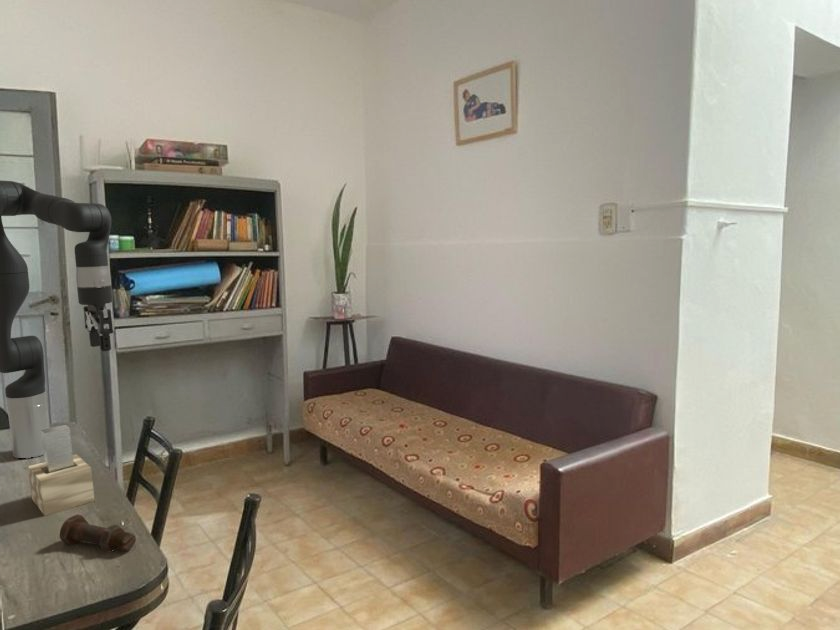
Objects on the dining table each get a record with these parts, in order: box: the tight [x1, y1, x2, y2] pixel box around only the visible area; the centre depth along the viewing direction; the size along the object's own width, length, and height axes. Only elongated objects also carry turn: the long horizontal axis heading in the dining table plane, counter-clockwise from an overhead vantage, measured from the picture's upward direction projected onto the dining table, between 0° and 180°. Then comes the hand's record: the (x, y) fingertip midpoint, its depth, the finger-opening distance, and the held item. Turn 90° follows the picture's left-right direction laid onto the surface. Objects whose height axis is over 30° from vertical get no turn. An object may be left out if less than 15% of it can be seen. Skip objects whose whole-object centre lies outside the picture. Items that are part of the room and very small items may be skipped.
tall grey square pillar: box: [41, 424, 74, 474], centre depth 137 cm, size 4×5×14 cm
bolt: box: [59, 514, 137, 552], centre depth 117 cm, size 6×5×15 cm
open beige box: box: [28, 454, 95, 517], centre depth 137 cm, size 12×10×8 cm
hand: (100, 348), depth 151 cm, fingers open, 8 cm apart
